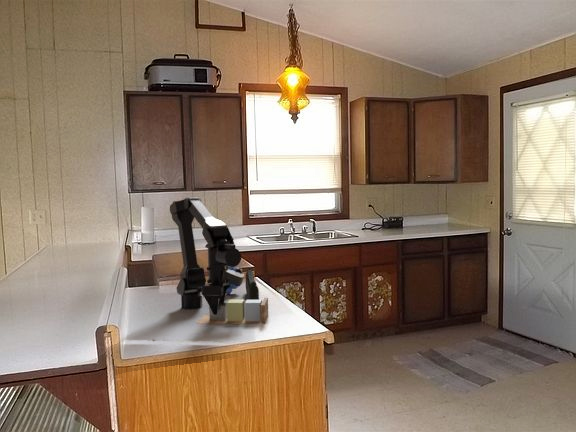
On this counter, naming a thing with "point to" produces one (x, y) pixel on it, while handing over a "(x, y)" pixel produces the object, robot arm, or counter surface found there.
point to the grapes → (232, 284)
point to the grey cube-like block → (219, 313)
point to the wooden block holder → (264, 315)
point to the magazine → (251, 286)
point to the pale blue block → (253, 310)
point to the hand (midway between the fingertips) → (218, 310)
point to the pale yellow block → (235, 310)
